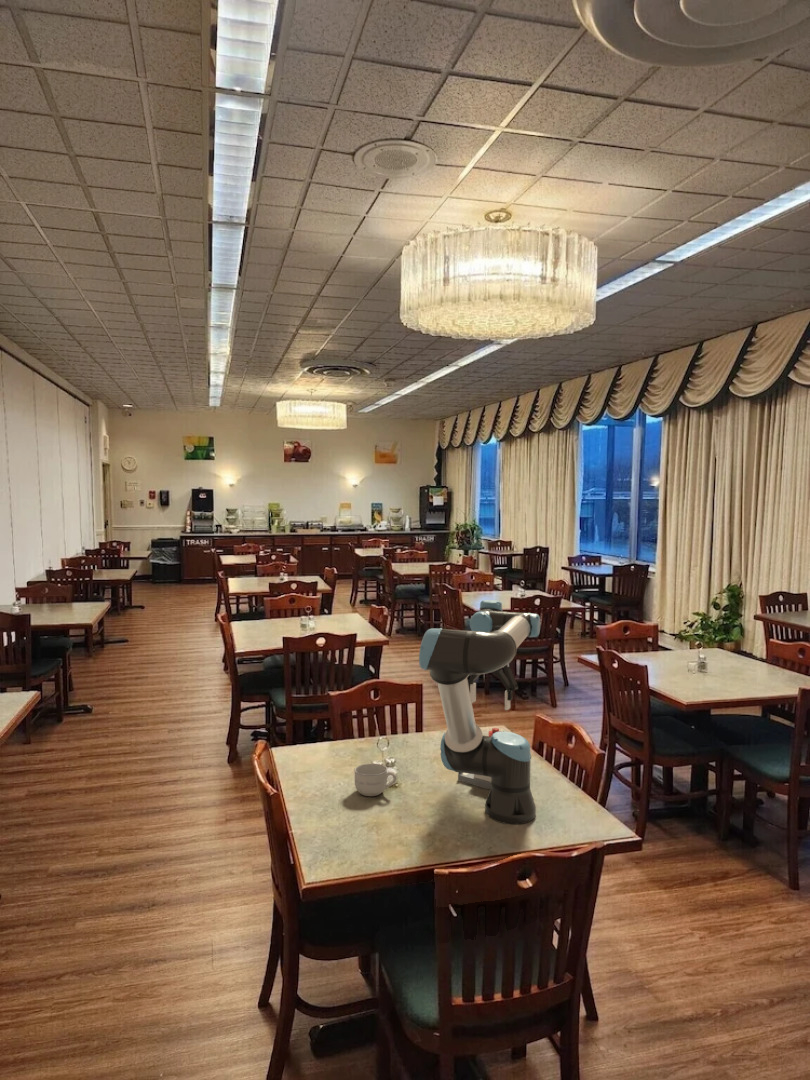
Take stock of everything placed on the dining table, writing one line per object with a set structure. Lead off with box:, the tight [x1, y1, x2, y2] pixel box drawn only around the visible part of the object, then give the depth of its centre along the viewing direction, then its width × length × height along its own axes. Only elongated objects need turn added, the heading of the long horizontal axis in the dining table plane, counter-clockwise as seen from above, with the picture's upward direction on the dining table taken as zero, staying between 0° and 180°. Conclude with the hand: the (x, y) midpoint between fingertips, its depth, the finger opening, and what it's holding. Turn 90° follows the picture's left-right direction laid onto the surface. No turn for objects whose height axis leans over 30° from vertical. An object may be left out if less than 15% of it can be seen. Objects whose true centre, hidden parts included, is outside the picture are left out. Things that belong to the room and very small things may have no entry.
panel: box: [457, 772, 491, 790], centre depth 227 cm, size 15×26×3 cm, turn 145°
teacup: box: [353, 762, 398, 797], centre depth 211 cm, size 14×11×8 cm
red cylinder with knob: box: [488, 727, 502, 737], centre depth 229 cm, size 5×5×8 cm
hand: (489, 705), depth 227 cm, fingers open, 13 cm apart
